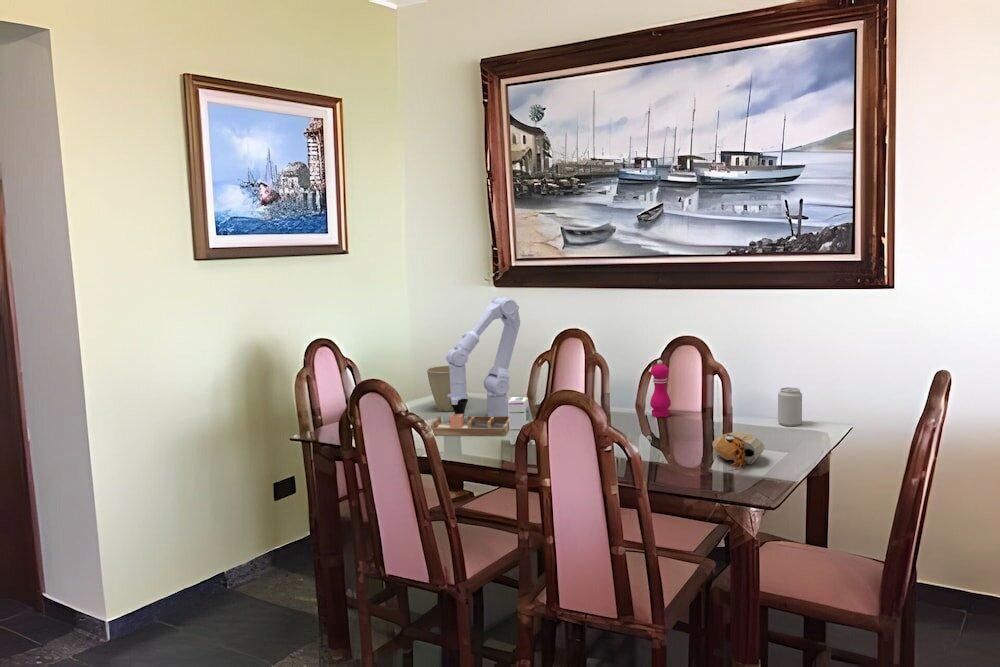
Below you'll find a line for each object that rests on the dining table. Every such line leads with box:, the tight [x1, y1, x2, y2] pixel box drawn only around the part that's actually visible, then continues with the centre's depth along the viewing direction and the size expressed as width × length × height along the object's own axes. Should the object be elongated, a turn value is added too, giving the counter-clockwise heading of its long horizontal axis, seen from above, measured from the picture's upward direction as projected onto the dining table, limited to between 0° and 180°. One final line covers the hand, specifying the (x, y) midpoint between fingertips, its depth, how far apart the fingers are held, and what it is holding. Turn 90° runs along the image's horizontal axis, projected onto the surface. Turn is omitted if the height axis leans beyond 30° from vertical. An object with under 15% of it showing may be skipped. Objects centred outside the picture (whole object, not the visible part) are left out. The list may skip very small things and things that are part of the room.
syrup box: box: [508, 396, 530, 446], centre depth 259 cm, size 6×6×14 cm
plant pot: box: [426, 365, 466, 412], centre depth 309 cm, size 15×15×16 cm
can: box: [777, 386, 803, 427], centre depth 267 cm, size 8×8×12 cm
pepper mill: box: [649, 359, 672, 418], centre depth 285 cm, size 7×7×20 cm
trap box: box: [428, 415, 509, 437], centre depth 277 cm, size 17×27×3 cm, turn 80°
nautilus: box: [711, 431, 765, 471], centre depth 229 cm, size 8×22×15 cm
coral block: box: [449, 413, 465, 428], centre depth 281 cm, size 4×4×4 cm
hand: (460, 420), depth 286 cm, fingers closed
